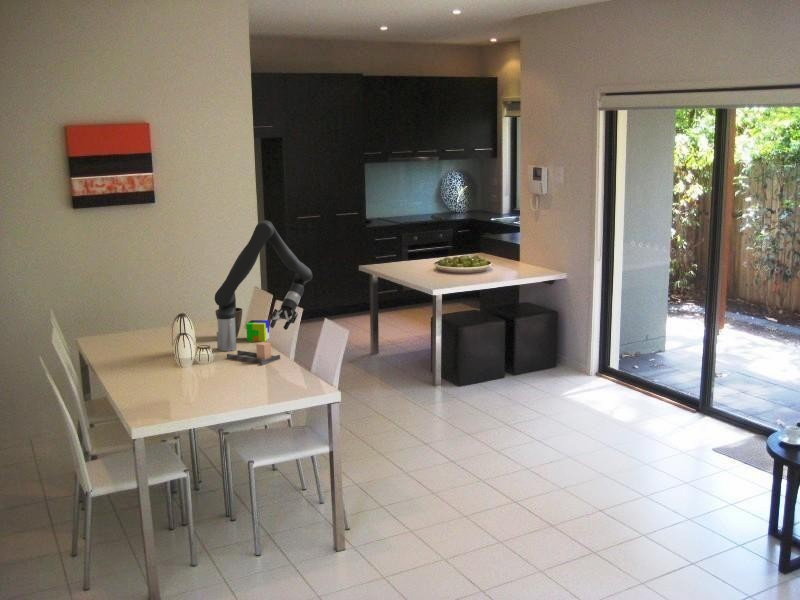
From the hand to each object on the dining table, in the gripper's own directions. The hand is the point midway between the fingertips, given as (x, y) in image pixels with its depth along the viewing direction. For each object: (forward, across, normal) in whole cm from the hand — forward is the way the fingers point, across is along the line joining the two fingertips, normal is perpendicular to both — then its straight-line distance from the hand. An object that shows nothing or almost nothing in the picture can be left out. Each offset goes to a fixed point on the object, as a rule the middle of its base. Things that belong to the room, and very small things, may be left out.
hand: (278, 328), depth 424 cm
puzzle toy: (-8, -37, +31) cm, 48 cm away
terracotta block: (+18, 0, +2) cm, 19 cm away
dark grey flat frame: (+20, -8, +3) cm, 21 cm away
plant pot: (-5, -54, +28) cm, 61 cm away
